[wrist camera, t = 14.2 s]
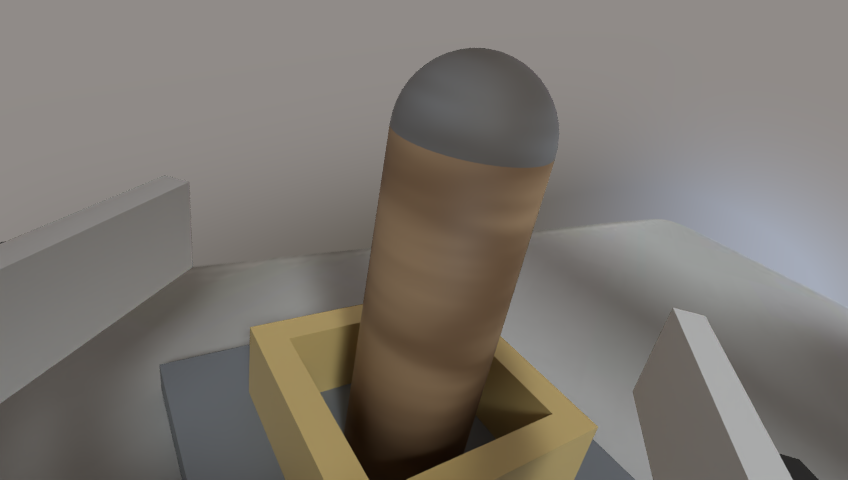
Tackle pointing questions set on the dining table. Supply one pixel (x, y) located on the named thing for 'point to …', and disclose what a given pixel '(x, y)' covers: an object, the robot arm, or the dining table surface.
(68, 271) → the robot arm
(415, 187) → the grey-capped wooden peg
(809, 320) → the dining table surface
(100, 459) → the dining table surface
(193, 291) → the dining table surface
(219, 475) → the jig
